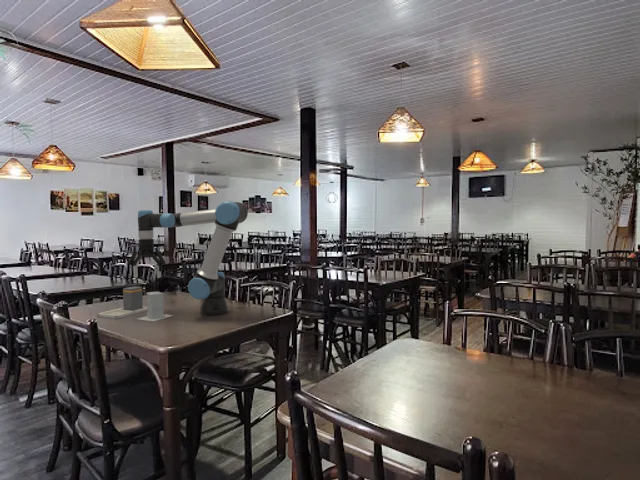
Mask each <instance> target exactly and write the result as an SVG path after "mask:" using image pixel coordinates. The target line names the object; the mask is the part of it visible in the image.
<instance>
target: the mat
mask: <svg viewBox="0 0 640 480" xmlns="http://www.w3.org/2000/svg"><path fill="white" fill-rule="evenodd" d="M163 314H164V313H163ZM171 317H174V315H173V314H167V313H166V314H164V317H162V318H156V319H151V318H149V317H147V315H146V316H143V317H138V318H136V320H138V321H146V322H158V321H161V320H163V319H164V320H165V319H168V318H171Z"/></svg>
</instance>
